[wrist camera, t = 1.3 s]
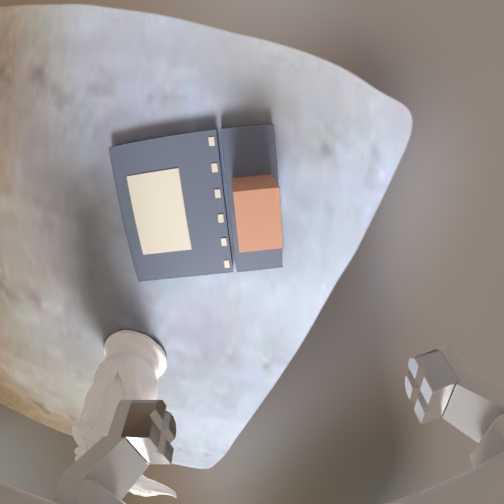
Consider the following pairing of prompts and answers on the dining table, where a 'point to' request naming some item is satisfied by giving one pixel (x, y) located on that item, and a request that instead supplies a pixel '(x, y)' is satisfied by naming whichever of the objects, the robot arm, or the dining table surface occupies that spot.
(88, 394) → the white tall statuette
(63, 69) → the dining table surface
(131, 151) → the grey notebook
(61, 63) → the dining table surface
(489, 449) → the robot arm
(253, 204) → the stub
